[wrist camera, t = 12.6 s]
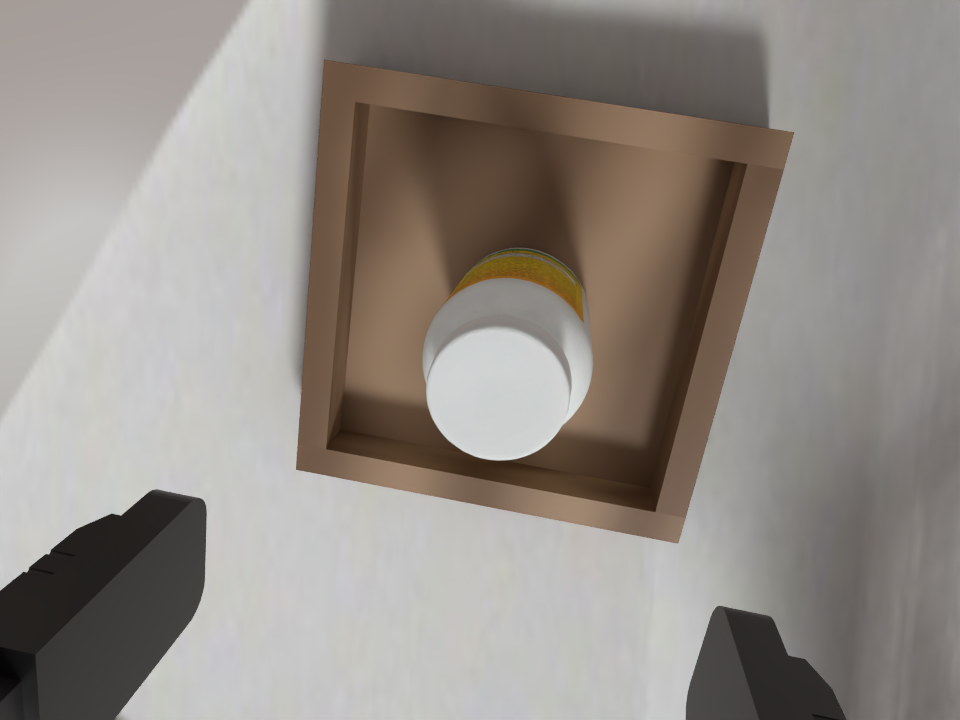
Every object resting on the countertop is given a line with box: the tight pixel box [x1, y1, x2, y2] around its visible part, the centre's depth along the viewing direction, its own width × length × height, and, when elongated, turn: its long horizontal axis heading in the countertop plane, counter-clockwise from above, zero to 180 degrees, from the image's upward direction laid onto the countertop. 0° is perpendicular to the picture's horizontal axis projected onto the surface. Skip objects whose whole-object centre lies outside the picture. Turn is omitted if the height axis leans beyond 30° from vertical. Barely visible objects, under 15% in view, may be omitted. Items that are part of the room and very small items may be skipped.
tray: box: [296, 60, 794, 543], centre depth 28 cm, size 16×16×3 cm
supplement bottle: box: [422, 248, 593, 460], centre depth 24 cm, size 5×5×10 cm
